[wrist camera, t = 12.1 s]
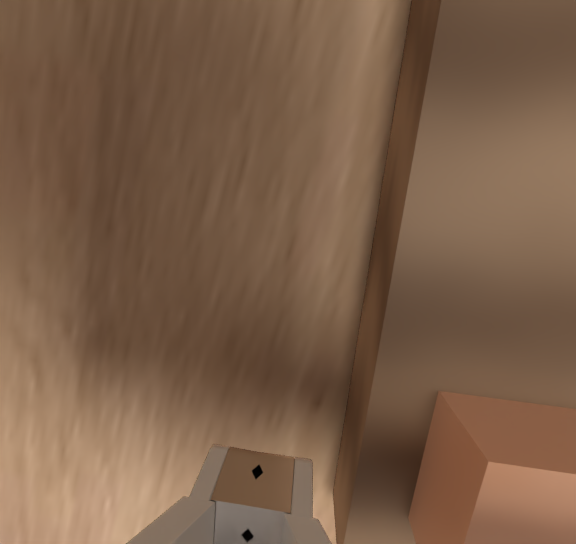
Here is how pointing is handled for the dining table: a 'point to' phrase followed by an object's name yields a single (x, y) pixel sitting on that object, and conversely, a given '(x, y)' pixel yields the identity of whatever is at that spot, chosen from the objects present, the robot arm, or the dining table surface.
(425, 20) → the board
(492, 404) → the terracotta tile
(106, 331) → the dining table surface
